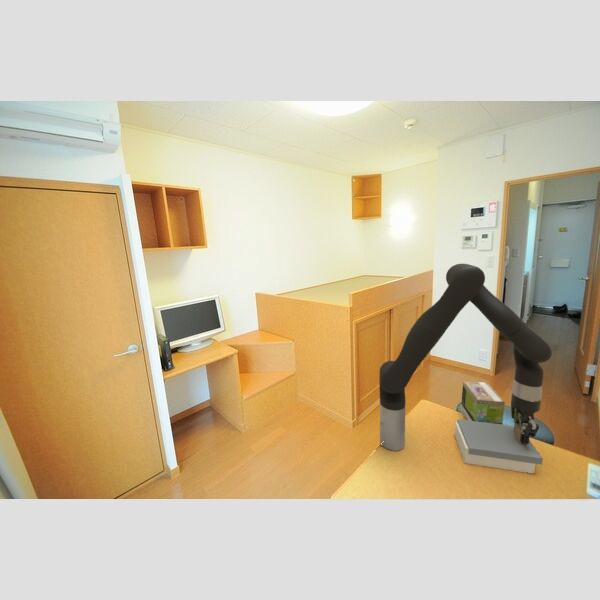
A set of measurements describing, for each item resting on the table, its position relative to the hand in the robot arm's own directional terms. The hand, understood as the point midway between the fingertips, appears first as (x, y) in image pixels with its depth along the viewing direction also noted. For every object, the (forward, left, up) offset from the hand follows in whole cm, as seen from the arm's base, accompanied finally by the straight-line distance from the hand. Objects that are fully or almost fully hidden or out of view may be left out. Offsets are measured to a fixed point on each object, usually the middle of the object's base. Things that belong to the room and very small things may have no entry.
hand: (521, 437), depth 93 cm
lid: (-8, 0, -3) cm, 8 cm away
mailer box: (-9, 0, -8) cm, 12 cm away
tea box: (-7, +18, -8) cm, 21 cm away
